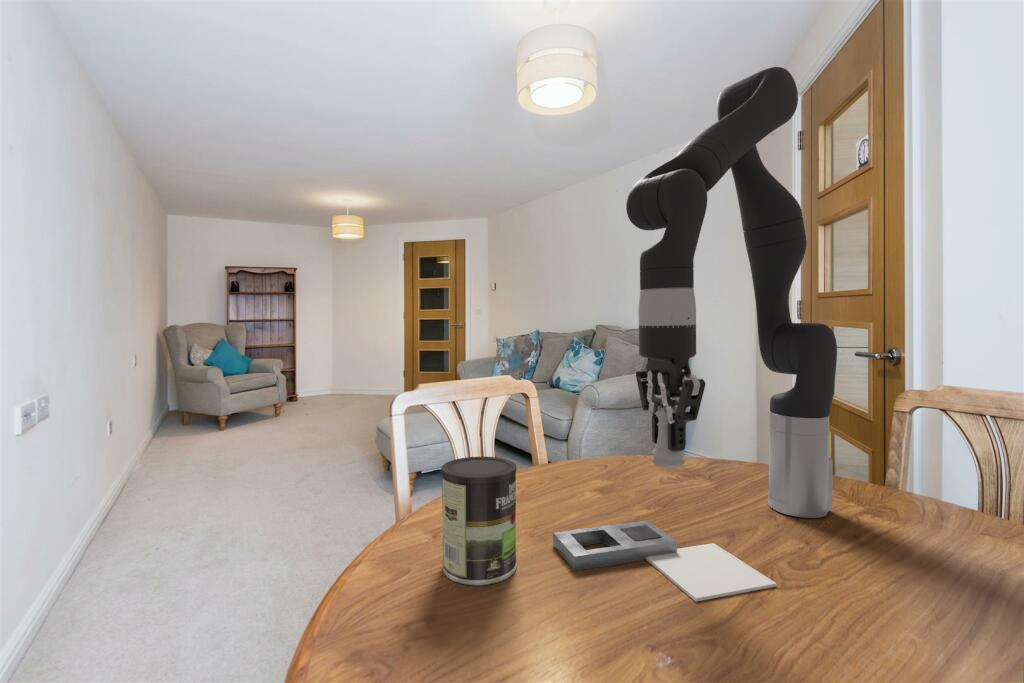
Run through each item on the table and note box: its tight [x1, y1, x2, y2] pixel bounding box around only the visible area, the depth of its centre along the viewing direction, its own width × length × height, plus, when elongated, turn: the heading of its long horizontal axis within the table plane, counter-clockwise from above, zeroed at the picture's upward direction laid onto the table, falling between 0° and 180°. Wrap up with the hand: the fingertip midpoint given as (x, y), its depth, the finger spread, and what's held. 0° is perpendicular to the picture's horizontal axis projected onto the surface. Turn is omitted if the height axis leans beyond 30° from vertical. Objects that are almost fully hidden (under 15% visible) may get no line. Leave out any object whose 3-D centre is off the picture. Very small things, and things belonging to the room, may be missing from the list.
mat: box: [645, 542, 778, 603], centre depth 67 cm, size 12×12×1 cm
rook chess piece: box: [651, 405, 685, 469], centre depth 69 cm, size 4×4×8 cm
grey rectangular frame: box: [552, 519, 678, 572], centre depth 73 cm, size 16×8×2 cm, turn 106°
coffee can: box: [440, 456, 517, 586], centre depth 69 cm, size 10×10×14 cm
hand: (668, 446), depth 69 cm, fingers closed on rook chess piece, 3 cm apart
